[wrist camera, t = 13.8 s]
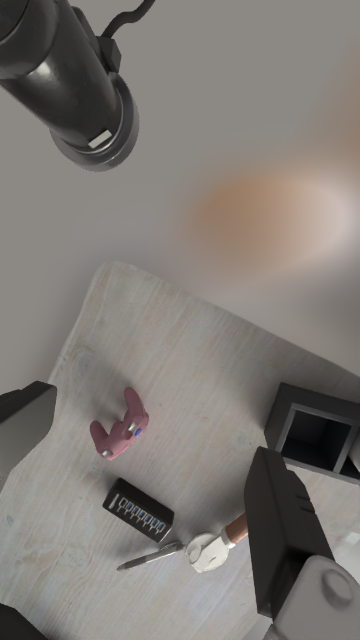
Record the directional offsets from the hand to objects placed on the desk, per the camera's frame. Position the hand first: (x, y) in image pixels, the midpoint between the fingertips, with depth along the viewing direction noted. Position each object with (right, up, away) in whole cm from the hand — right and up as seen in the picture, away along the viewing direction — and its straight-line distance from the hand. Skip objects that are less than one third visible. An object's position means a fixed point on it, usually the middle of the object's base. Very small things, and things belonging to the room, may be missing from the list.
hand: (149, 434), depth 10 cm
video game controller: (-8, -11, +32) cm, 34 cm away
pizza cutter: (+10, -27, +32) cm, 43 cm away
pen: (-4, -35, +36) cm, 50 cm away
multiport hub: (-5, -26, +34) cm, 43 cm away
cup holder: (+22, -10, +27) cm, 36 cm away
